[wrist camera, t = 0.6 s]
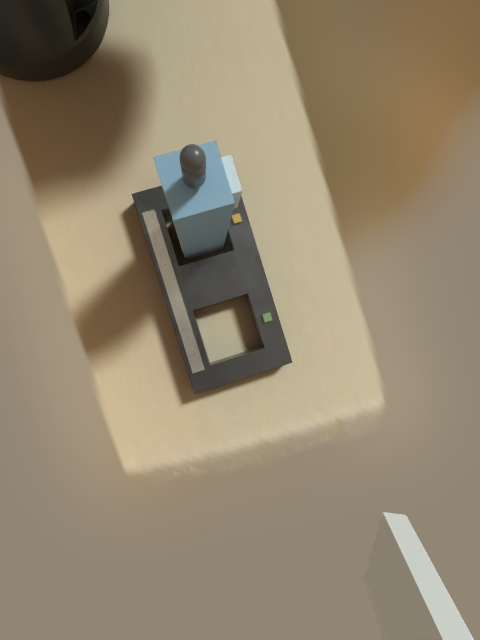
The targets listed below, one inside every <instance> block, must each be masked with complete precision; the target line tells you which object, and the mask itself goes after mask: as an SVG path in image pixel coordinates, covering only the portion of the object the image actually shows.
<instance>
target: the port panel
mask: <svg viewBox="0 0 480 640" xmlns="http://www.w3.org/2000/svg"><path fill="white" fill-rule="evenodd" d="M132 197H133V200H134V203H135V206H136V209H137V212H138V216H139V219H140V222H141V225H142V228H143V231H144V235H145V238H146V241H147V244H148V247H149V250H150V253H151V257H152V260H153V263H154V266H155V269H156V272H157V276H158V279H159V282H160V285H161V288H162V291H163V295H164V298H165V301H166V304H167V307H168V310H169V314H170V317H171V320H172V323H173V326H174V329H175V333H176V336H177V339H178V342H179V345H180V348H181V352H182V355H183V358H184V361H185V364H186V367H187V370H188V374H189V377H190V380H191V383H192V386H193V389H194V393H195V394H197V393H201V392H204V391H207V390H210V389H213V388H216V387H219V386H222V385H225V384H228V383H231V382H234V381H237V380H240V379H243V378H246V377H249V376H252V375H255V374H258V373H261V372H264V371H268V370H271V369H274V368H277V367H280V366H283V365H286V364H289V363H292V359H291V356H290V353H289V350H288V346H287V343H286V340H285V337H284V333H283V330H282V327H281V324H280V320H279V317H278V314H277V311H276V307H275V304H274V301H273V298H272V294H271V291H270V288H269V285H268V281H267V278H266V275H265V272H264V268H263V265H262V262H261V259H260V255H259V252H258V249H257V246H256V242H255V239H254V236H253V233H252V229H251V226H250V223H249V220H248V216H247V213H246V210H245V206H244V203H243V200H242V197H240V200H239V204H238V207H237V208H234V209H233V212H232V216H231V220H230V224H229V228H228V232H227V236H228V239H229V242H230V246H231V249H232V251H229V252H226V253H223V254H219V255H216V256H212V257H209V258H206V259H202V260H199V261H195V262H192V263H189V264H185V265H182V266H179V263H178V260H177V257H176V254H175V251H174V248H173V244H172V241H171V238H170V235H169V232H168V228H167V225H166V222H165V219H164V216H165V215H169V214H171V213H170V210H169V206H168V203H167V200H166V197H165V194H164V190H163V187H162V186H159V187H156V188H152V189H148V190H145V191H141V192H137V193H134V194H132ZM243 295H246V297H247V301H248V304H249V307H250V310H251V314H252V317H253V320H254V323H255V326H256V330H257V333H258V336H259V339H260V343H261V347H258V348H255V349H252V350H249V351H246V352H243V353H240V354H237V355H233V356H230V357H227V358H224V359H221V360H218V361H215V362H212V363H210V362H209V359H208V356H207V353H206V349H205V346H204V343H203V340H202V337H201V334H200V330H199V327H198V324H197V321H196V318H195V314H194V310H197V309H200V308H204V307H207V306H210V305H213V304H217V303H220V302H223V301H226V300H230V299H233V298H236V297H239V296H243Z"/></svg>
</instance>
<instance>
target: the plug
mask: <svg viewBox="0 0 480 640" xmlns="http://www.w3.org/2000/svg"><path fill="white" fill-rule="evenodd" d="M153 159H154V162H155V165H156V168H157V171H158V174H159V178H160V181H161V184H162V187H163V190H164V194H165V197H166V200H167V203H168V206H169V210H170V213H171V216H172V220H173V223H174V226H175V229H176V233H177V236H178V239H179V242H180V245H181V248H182V252H183V253H184V256H185V259H189V258H192V257H195V256H199V255H202V254H206V253H209V252H212V251H216V250H219V249H223V247H224V243H225V239H226V235H227V232H228V228H229V224H230V220H231V216H232V212H233V209H234V208H237V207H238V204H239V200H240V197H241V193H242V189H241V185H240V182H239V179H238V175H237V172H236V169H235V166H234V162H233V159H232V156H231V155H228V156H225V157H221V156H220V153H219V149H218V146H217V143H216V141H212V142H209V143H205V144H201V145H194V144H190V145H187V146H185V147H184V148H183V149H182V150H179V151H175V152H171V153H167V154H164V155H160V156H156V157H153Z"/></svg>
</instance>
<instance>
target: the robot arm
mask: <svg viewBox="0 0 480 640" xmlns="http://www.w3.org/2000/svg"><path fill="white" fill-rule="evenodd" d="M108 17H109V0H0V74H2V75H5V76H8V77H12V78H16V79H21V80H46V79H52V78H56V77H59V76H62V75H65V74H67V73H69V72H71V71H73V70H75V69H76V68H78V67H79V66H80V65H82V64H83V63H84V62H85V61H86V60H88V59H89V58H90V56H91V55H92V54H93V53H94V52H95V50H96V49H97V47H98V46H99V44H100V42H101V41H102V38H103V36H104V34H105V31H106V27H107V23H108ZM363 579H364V582H365V585H366V588H367V591H368V594H369V597H370V600H371V603H372V606H373V609H374V612H375V615H376V618H377V621H378V624H379V628H380V630H381V633H382V637H383V640H474V639H473V637H472V636H471V634H470V632H469V630H468V628H467V626H466V625H465V623H464V621H463V619H462V617H461V615H460V614H459V612H458V610H457V608H456V606H455V604H454V603H453V601H452V599H451V597H450V595H449V593H448V591H447V590H446V588H445V586H444V584H443V582H442V581H441V579H440V577H439V575H438V573H437V571H436V570H435V568H434V566H433V564H432V562H431V560H430V558H429V557H428V555H427V553H426V551H425V549H424V548H423V546H422V544H421V542H420V540H419V538H418V536H417V535H416V533H415V531H414V529H413V527H412V525H411V524H410V522H409V520H408V518H407V516H406V515H401V514H393V513H386V512H383V513H382V517H381V520H380V523H379V527H378V530H377V534H376V537H375V540H374V544H373V547H372V551H371V554H370V557H369V561H368V564H367V568H366V571H365V574H364V578H363Z"/></svg>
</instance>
